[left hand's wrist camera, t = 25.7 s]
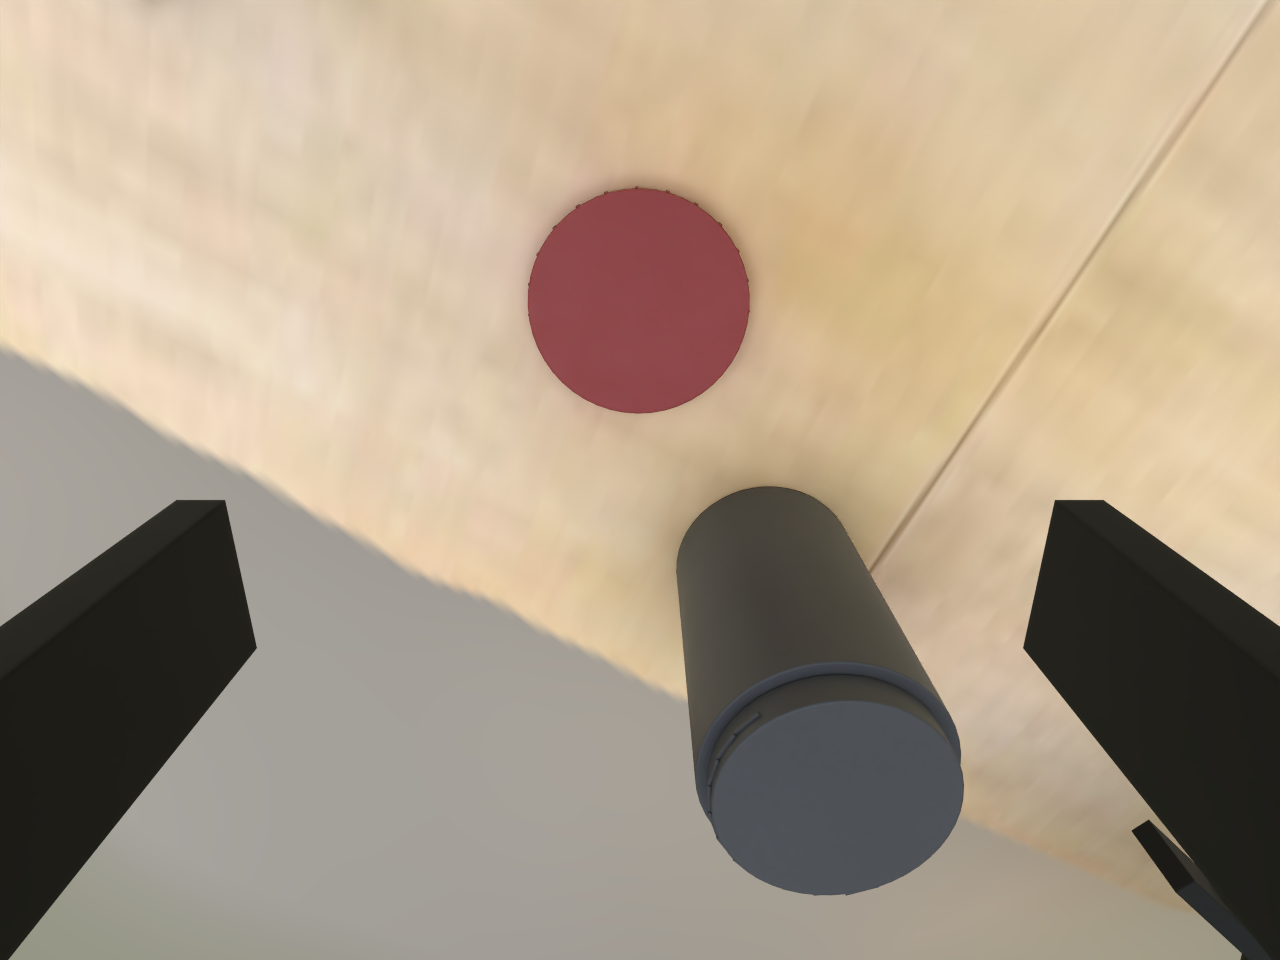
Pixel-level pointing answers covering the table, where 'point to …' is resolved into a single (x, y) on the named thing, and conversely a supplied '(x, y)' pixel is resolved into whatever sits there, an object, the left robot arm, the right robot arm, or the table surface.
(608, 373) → the lid
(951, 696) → the table surface
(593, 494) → the table surface
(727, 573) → the jar
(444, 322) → the table surface
